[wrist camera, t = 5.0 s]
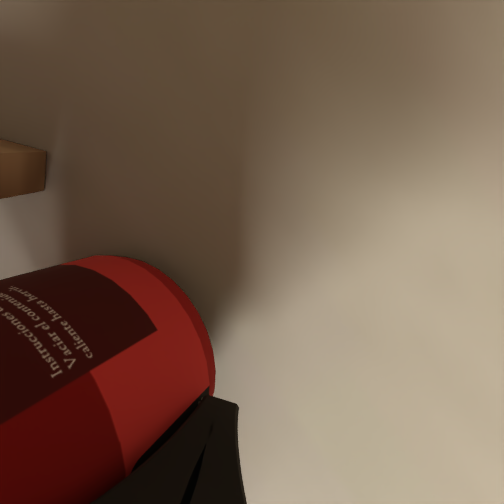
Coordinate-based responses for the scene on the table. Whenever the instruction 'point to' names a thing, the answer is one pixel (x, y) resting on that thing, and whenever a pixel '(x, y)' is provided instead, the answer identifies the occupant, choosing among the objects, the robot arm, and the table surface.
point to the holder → (21, 169)
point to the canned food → (93, 375)
